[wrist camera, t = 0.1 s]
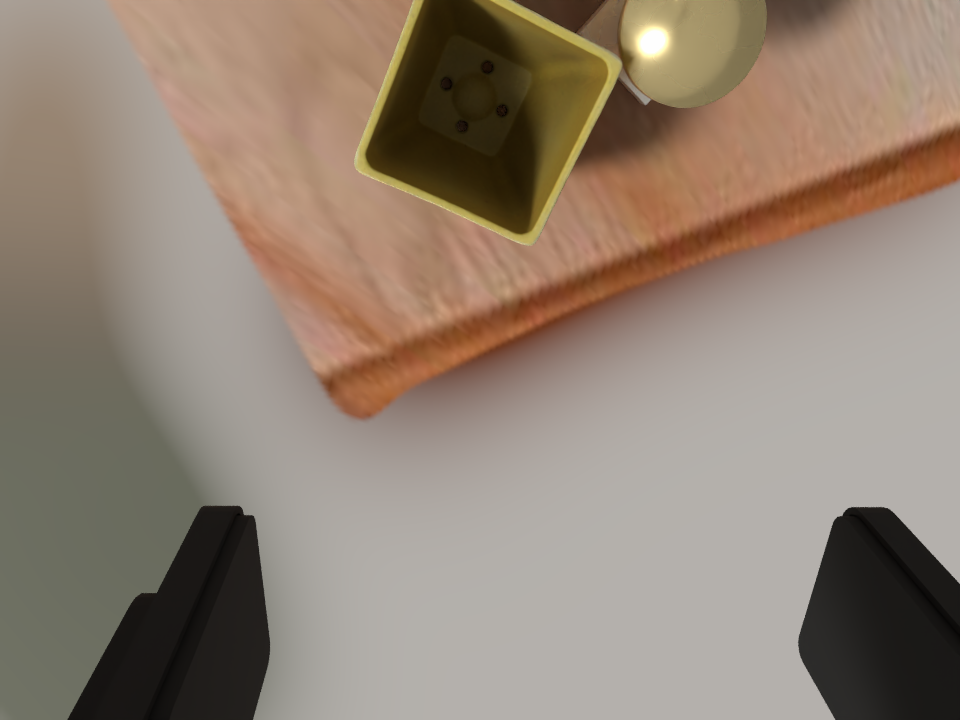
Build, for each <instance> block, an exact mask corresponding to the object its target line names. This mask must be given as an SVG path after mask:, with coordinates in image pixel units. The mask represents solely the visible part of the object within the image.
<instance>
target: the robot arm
mask: <svg viewBox="0 0 960 720" xmlns="http://www.w3.org/2000/svg"><path fill="white" fill-rule="evenodd" d="M798 643H799V645H798V646H799V653H800V656H801V659H802V661H803V663H804V665H805V667H806V668H807V670H808V672H809V674H810V676H811V677H812V679H813V681H814V683H815V684H816V686H817V688H818V690H819V691H820V693H821V695H822V697H823V698H824V700H825V702H826V704H827V705H828V707H829V709H830V711H831V713H832V714H833V716H834V718H835V720H960V584H959V583H958V582H957V580H956V579H955V578H954V577H953V576H952V575H951V574H950V573H949V572H948V571H947V570H946V569H945V568H944V567H943V565H941V563H940V562H939V561H938V560H937V559H936V558H935V557H934V556H933V555H932V554H931V553H930V551H929V550H928V549H927V548H926V547H925V546H924V545H923V544H922V543H921V542H920V541H919V540H918V538H917V537H916V536H915V535H914V534H913V533H912V532H911V531H910V530H909V529H908V528H907V527H906V525H905V524H904V523H903V522H902V521H901V520H900V519H899V518H898V517H897V516H896V515H895V514H894V513H893V512H892V511H891V510H889V509H888V508H884V507H851V508H848V509H847V510H846V511H845V512H844V513H843V516H840V517H837V518H836V519H835V520H834V522H833V525H832V528H831V532H830V535H829V538H828V542H827V545H826V548H825V552H824V555H823V558H822V562H821V565H820V568H819V572H818V575H817V578H816V582H815V585H814V588H813V592H812V595H811V598H810V602H809V605H808V609H807V612H806V615H805V618H804V622H803V625H802V628H801V632H800V635H799V641H798ZM269 655H270V638H269V630H268V622H267V614H266V605H265V597H264V588H263V580H262V572H261V563H260V555H259V546H258V539H257V530H256V522H255V518H254V516H252V515H244V514H243V510H242V508H241V507H240V506H203V507H201V509H200V510H199V512H198V514H197V516H196V518H195V519H194V521H193V523H192V525H191V527H190V529H189V531H188V533H187V535H186V537H185V539H184V541H183V543H182V545H181V547H180V549H179V551H178V553H177V555H176V557H175V559H174V561H173V562H172V564H171V567H170V568H169V570H168V572H167V574H166V576H165V578H164V580H163V582H162V584H161V586H160V588H159V590H158V592H157V593H141V594H140V595H138V596H137V597H136V598H135V599H134V600H133V602H132V603H131V605H130V607H129V608H128V610H127V612H126V614H125V615H124V617H123V619H122V621H121V623H120V625H119V627H118V628H117V630H116V632H115V634H114V636H113V637H112V639H111V641H110V643H109V645H108V646H107V648H106V650H105V652H104V654H103V656H102V657H101V659H100V661H99V663H98V665H97V667H96V668H95V670H94V672H93V674H92V676H91V678H90V679H89V681H88V683H87V685H86V687H85V688H84V690H83V692H82V694H81V696H80V698H79V700H78V701H77V703H76V705H75V707H74V709H73V711H72V712H71V714H70V716H69V718H68V720H253V717H254V714H255V710H256V706H257V703H258V699H259V696H260V692H261V689H262V685H263V681H264V678H265V674H266V670H267V667H268V662H269Z"/></svg>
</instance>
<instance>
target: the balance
mask: <svg viewBox="0 0 960 720" xmlns="http://www.w3.org/2000/svg"><path fill="white" fill-rule="evenodd" d="M766 24H767V11H766V3H765V0H605V1H604V2H603V3H602V4H601V5H600V6H599V8H598V9H597V10H596V11H595V12H594V13H593V14H592V16H591V17H590V18H589V19H588V20H587V21H586V22H585V23H584V25H583V26H582V27H581V28H580V29H579V30H578V31H577V33H576V34H577V35H579V36H581V37H583V38H585V39H587V40H589V41H591V42H593V43H595V44H597V45H599V46H601V47H603V48H605V49H607V50H609V51H611V52H613V53H614V54H616V55H617V56H618V57H619V58H620V59H621V61H622V64H623V66H622V70H621V72H620V74H619V77H618V80H619V81H620V82H621V83H622V84H623V85H624V86H625V88H626V89H627V90H628V91H629V92H630V93H631V94H632V95H633V96H634V97H635V98H636V99H637V100H638V101H639V103H641V104H644V105H647V103H648V102H649V101H650V100H651V99H652V100H654V101H656V102H659V103H661V104H665V105H668V106H671V107H677V108H692V107H699V106H703V105H706V104H709V103H711V102H714V101H716V100H718V99H720V98H722V97H723V96H725V95H726V94H728V93H729V92H730V91H732V90H733V89H734V88H735V87H736V86H737V85H738V84H740V82H741V81H742V80H743V79H744V78H745V77H746V76H747V74H748V73H749V71H750V70H751V68H752V67H753V65H754V63H755V61H756V60H757V58H758V55H759V53H760V51H761V48H762V45H763V41H764V38H765V32H766Z"/></svg>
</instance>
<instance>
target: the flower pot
mask: <svg viewBox="0 0 960 720" xmlns="http://www.w3.org/2000/svg"><path fill="white" fill-rule="evenodd" d="M485 62H490V63H491V64H492V65H493V69H492V71H491V72H490V73H485V72H484V71H483V70H482V65H483V63H485ZM622 66H623V64H622V61H621V59H620V58H619V57H618V56H617V55H616V54H614V53H613V52H611V51H609V50H607V49H605V48H603V47H601V46H599V45H597V44H595V43H593V42H591V41H589V40H587V39H585V38H583V37H581V36H579V35H577V34H576V33H574V32H572V31H570V30H568V29H566V28H564V27H562V26H560V25H558V24H556V23H554V22H552V21H550V20H549V19H547V18H545V17H543V16H541V15H539V14H537V13H536V12H534V11H532V10H530V9H528V8H526V7H524V6H522V5H520V4H518V3H516V2H515V1H513V0H413V3H412V5H411V8H410V11H409V14H408V17H407V19H406V22H405V25H404V28H403V30H402V33H401V36H400V39H399V41H398V44H397V47H396V49H395V52H394V55H393V58H392V60H391V63H390V66H389V68H388V71H387V74H386V76H385V79H384V82H383V84H382V87H381V89H380V92H379V95H378V97H377V100H376V103H375V105H374V108H373V110H372V113H371V115H370V118H369V120H368V123H367V125H366V128H365V130H364V133H363V135H362V138H361V141H360V143H359V146H358V149H357V152H356V155H355V160H354V163H355V168H356V169H357V171H358V172H360V173H361V174H363V175H365V176H368V177H370V178H372V179H374V180H377V181H379V182H382V183H384V184H387V185H389V186H392V187H394V188H397V189H399V190H401V191H404V192H406V193H409V194H411V195H413V196H416V197H418V198H421V199H423V200H425V201H428V202H430V203H432V204H435V205H437V206H440V207H442V208H444V209H446V210H448V211H451V212H453V213H455V214H457V215H459V216H461V217H463V218H466V219H468V220H470V221H472V222H474V223H476V224H478V225H481V226H483V227H485V228H487V229H489V230H491V231H493V232H496V233H498V234H500V235H502V236H504V237H506V238H508V239H510V240H512V241H514V242H517V243H520V244H523V245H528V246H531V245H534V244H535V243H536V241H537V240H538V238H539V236H540V234H541V232H542V230H543V228H544V226H545V224H546V222H547V220H548V218H549V216H550V214H551V211H552V209H553V208H554V206H555V203H556V201H557V199H558V197H559V195H560V193H561V191H562V189H563V187H564V185H565V183H566V181H567V179H568V177H569V175H570V173H571V171H572V169H573V167H574V165H575V163H576V161H577V159H578V157H579V155H580V153H581V151H582V149H583V147H584V145H585V143H586V141H587V139H588V137H589V135H590V133H591V131H592V129H593V127H594V125H595V123H596V121H597V119H598V117H599V116H600V114H601V112H602V109H603V107H604V105H605V103H606V101H607V99H608V97H609V95H610V94H611V92H612V90H613V88H614V86H615V84H616V81H617V79H618V77H619V74H620V72H621V70H622ZM444 78H449V79H450V80H451V81H452V86H451V88H450V89H448V90H446V89H444V88H443V87H442V85H441V82H442V80H443V79H444ZM500 105H504V106H505V107H506V108H507V113H506V115H504V116H499V115H498V114H497V108H498V106H500ZM459 121H465V122H466V123H467V129H466V130H465V131H463V132H461V131H459V130H458V129H457V123H458V122H459Z"/></svg>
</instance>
